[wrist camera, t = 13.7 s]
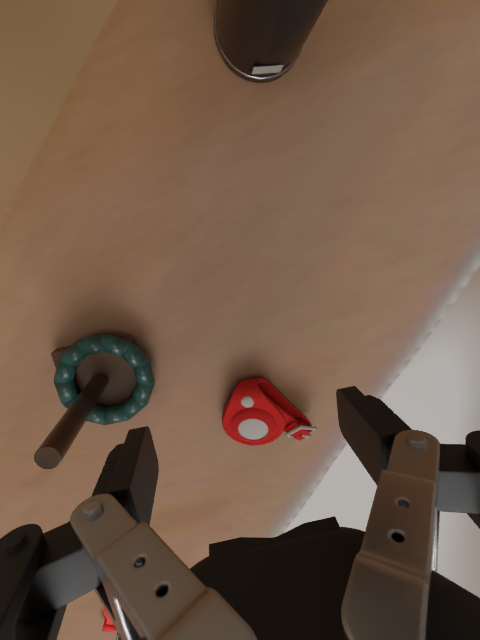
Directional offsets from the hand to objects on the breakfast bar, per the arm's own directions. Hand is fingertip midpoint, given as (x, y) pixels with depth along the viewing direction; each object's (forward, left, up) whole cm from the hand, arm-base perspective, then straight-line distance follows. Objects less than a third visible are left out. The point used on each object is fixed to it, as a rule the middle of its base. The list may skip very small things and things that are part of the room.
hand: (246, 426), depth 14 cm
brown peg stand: (+7, -15, -29) cm, 33 cm away
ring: (+6, -14, -26) cm, 31 cm away
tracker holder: (+17, +4, -29) cm, 34 cm away
